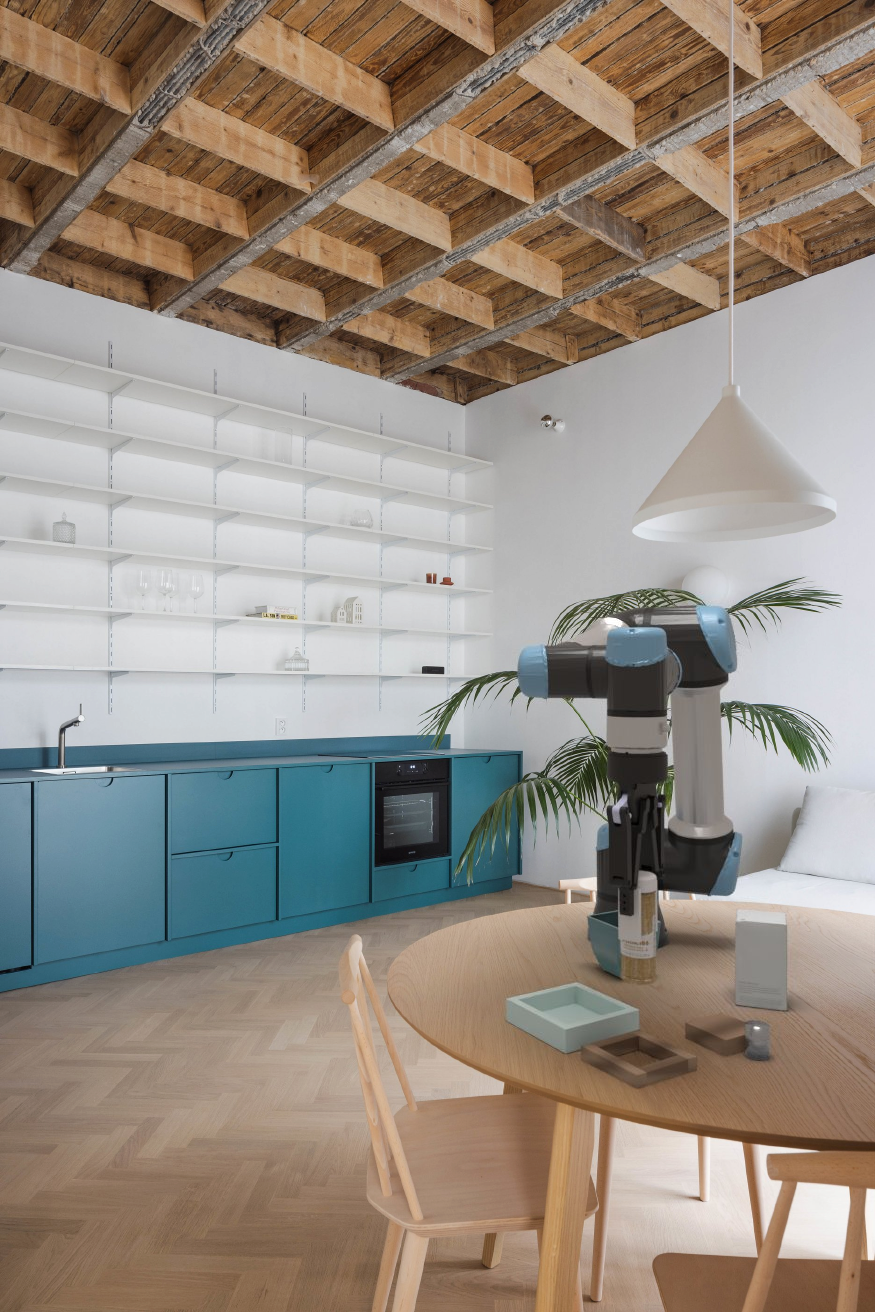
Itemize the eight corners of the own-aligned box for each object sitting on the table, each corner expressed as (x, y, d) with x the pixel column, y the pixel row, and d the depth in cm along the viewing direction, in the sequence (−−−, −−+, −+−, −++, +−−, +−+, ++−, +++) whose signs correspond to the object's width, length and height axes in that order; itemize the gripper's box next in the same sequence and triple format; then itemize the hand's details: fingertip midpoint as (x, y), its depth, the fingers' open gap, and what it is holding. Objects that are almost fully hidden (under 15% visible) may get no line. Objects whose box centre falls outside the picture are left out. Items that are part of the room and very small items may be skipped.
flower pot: (619, 985, 142) (619, 928, 142) (585, 969, 150) (585, 915, 150) (662, 977, 146) (662, 921, 147) (627, 961, 154) (627, 908, 154)
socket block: (581, 1060, 115) (581, 1045, 115) (639, 1043, 120) (638, 1029, 120) (637, 1091, 106) (637, 1075, 106) (696, 1071, 112) (696, 1056, 112)
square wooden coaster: (685, 1041, 122) (685, 1022, 122) (721, 1030, 125) (721, 1012, 126) (726, 1060, 116) (726, 1040, 116) (762, 1048, 119) (762, 1029, 120)
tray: (506, 1020, 128) (506, 998, 128) (576, 1003, 135) (576, 982, 135) (565, 1053, 117) (565, 1029, 117) (639, 1032, 124) (639, 1010, 124)
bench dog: (740, 1054, 116) (739, 1023, 117) (755, 1049, 118) (755, 1018, 118) (759, 1063, 114) (759, 1031, 114) (774, 1058, 115) (774, 1026, 116)
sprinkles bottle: (618, 984, 112) (617, 876, 112) (622, 972, 117) (621, 868, 117) (656, 988, 111) (655, 879, 111) (658, 975, 115) (657, 870, 115)
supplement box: (788, 1012, 131) (787, 924, 131) (734, 1005, 134) (733, 920, 134) (787, 995, 138) (786, 912, 138) (736, 989, 141) (735, 907, 141)
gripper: (637, 757, 105) (638, 959, 105) (690, 745, 119) (691, 923, 119) (578, 754, 109) (579, 948, 109) (636, 742, 123) (638, 914, 123)
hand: (638, 934), depth 114 cm, fingers closed on sprinkles bottle, 4 cm apart
